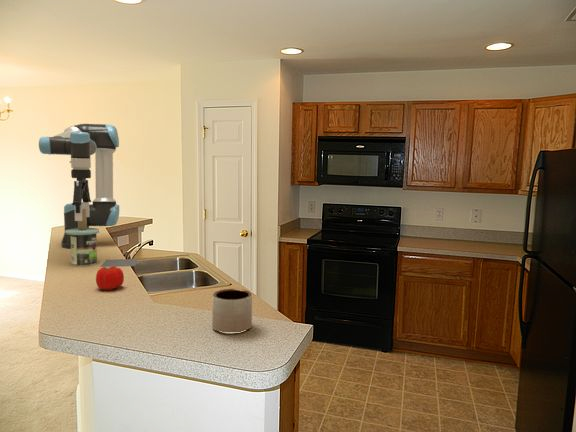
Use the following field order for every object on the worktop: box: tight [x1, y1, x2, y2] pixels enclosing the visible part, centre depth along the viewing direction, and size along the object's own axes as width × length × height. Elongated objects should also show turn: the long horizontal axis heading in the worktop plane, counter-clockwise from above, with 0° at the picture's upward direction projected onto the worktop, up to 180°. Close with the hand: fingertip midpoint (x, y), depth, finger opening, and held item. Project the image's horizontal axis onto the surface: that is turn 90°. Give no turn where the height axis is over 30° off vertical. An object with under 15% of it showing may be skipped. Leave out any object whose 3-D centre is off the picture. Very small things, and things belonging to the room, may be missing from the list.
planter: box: [211, 288, 253, 332], centre depth 115 cm, size 11×11×10 cm
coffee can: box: [70, 233, 98, 267], centre depth 182 cm, size 10×10×14 cm
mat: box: [99, 258, 139, 268], centre depth 185 cm, size 14×14×1 cm
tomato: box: [95, 266, 125, 291], centre depth 148 cm, size 9×9×8 cm
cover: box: [66, 209, 100, 235], centre depth 180 cm, size 13×13×10 cm
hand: (82, 218), depth 180 cm, fingers open, 12 cm apart
